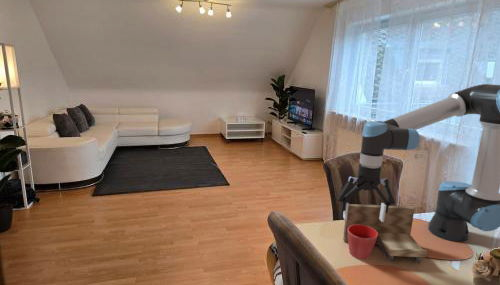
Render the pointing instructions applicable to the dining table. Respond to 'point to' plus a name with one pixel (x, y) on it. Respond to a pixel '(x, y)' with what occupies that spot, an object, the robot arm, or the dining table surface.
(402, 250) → the small wooden stand
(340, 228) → the dining table surface
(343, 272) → the dining table surface
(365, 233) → the flower pot
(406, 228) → the wooden board
